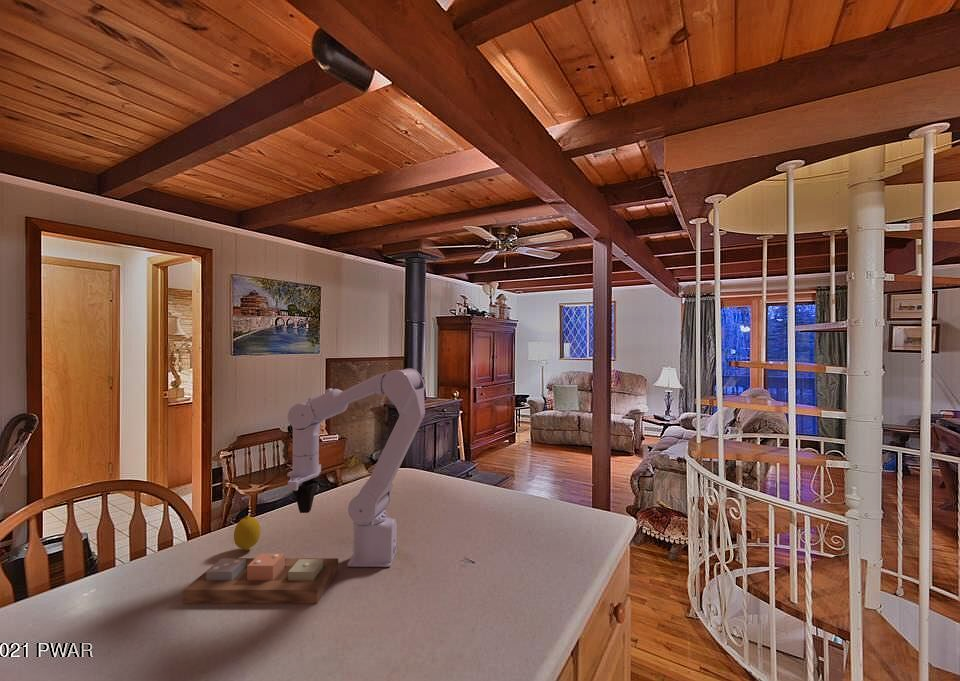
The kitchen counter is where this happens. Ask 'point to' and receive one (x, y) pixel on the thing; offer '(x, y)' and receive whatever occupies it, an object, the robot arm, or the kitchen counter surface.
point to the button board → (262, 587)
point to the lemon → (247, 533)
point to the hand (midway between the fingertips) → (305, 511)
